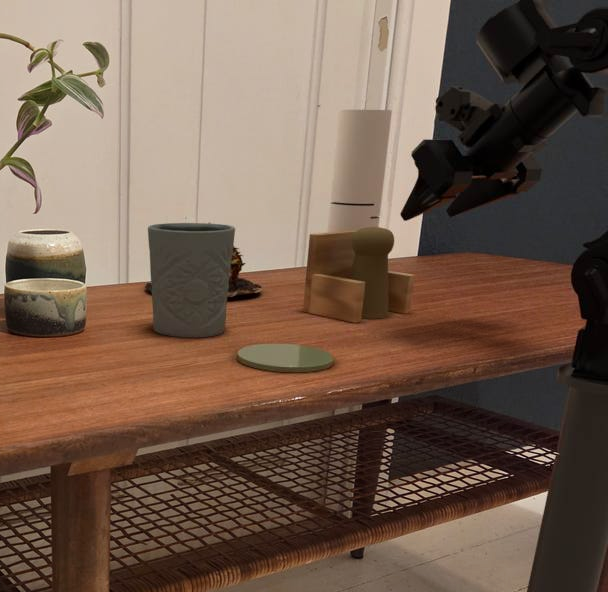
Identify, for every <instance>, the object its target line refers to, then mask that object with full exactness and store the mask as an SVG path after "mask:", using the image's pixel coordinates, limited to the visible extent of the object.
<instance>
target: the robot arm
mask: <svg viewBox="0 0 608 592" xmlns="http://www.w3.org/2000/svg"><path fill="white" fill-rule="evenodd" d="M580 17H581V18H580V19H579V20H578V21H577V22H576V23H569V24H566V25H562V26H558V25H557V24H556V23H555V21H554V20H553V19H552V17H551V16H550V14H549V13H548V11H547V10H546V8H545V5H544V3H543V1H542V0H519V1H517V2H515V3H512V4H510V5H508V6H506V7H505V8H503V9H502V10H500V11H499V12H497V13H496V14H495V15H492V16H490V17H489V18H488V19H487V20H486V21H485V22H484V23H483V25H482V26H481V28H480V29H479V31H478V33H477V35H476V44H477V45H478V47H479V48H480V50H481V51H482V53H483V54H484V56H485V57H486V58H487V60H488V61H489V63H490V64H491V66H492V67H493V69H494V70H495V71H496V73H497V74H498V76H499V77H500V79H501V80H502V81H503V83H504V84H507V85H511V84H514V83H518V85H523V86H522V87H521V88H520V89H519V90H518V91H517V92H515V94H514V95H513V96H512V97H511V98H510V99H509V100H508V101H507V102H506V103H494V102H492V101H490V100H489V99H486V98H485V97H484V96H482V95H480V94H478V93H477V92H475V91H473V90H470V89H463V87H462V86H461V85H459V86H458V85H451V87H450V88H448V89H444V91H443V93H442V94H441V95H439V96H438V97H436V98H435V107H434V109H435V113H436V114H435V118H436V119H437V120H439V121H440V122H443V121H444V122H445V123H447V124H449V125H450V126H451V127H453V128H455V129H456V130H457V131H460V132H461V133H460V134H458V135H457V139H458V140H459V142H460V143H461V145H462V146H465V147H466V149H465V154H466V155H463V153H462V152H461V151H460V150H459V148H458V146H457V145H456V144H455V141H454V140H453V139H431V138H430V139H423V140H422V141H420V142H419V144H417V146H416V147H414V149H413V150H412V151H411V155H410V157H411V158H412V159H413V161H414V162H413V163H414V166H415V167H416V169H417V178H416V181H415V183H414V186H413V188H412V189H411V192H410V194H409V195H408V197H407V199H406V201H405V204H404V205H403V208H402V209H401V211H400V213H399V214H400V217H401V218H402V220H403V221H404V222H407V221H409V220H412V219H414V218H417V217H419V216H421V215H423V214H425V213H427V212H429V211H432V210H434V209H436V208H438V207H440V206H442V205H445V204H447V203H449V202H451V203H450V204H449V206H448V207H447V208H446V211H445V212H446V214H447V216H449V218H453V217H456V216H460V215H462V214H464V213H467V212H470V211H473V210H476V209H478V208H481V207H484V206H486V205H490V204H493V203H496V202H498V201H501V200H505V199H507V198H510V197H513V196H518V195H519V194H520V193H523V192H524V193H525V192H529V191H530V190H531V189H532V188H534V186H536V185H537V184H538V183H539V182H540V181H541V176H542V173H543V172H542V171H543V168H542V167H541V164H539V162H538V160H537V159H536V158H535V157H534V155H533V153H542V152H543V151H544V150H545V149H546V148H547V147H549V143H548V142H547V139H548V138H549V137H550V136H551V135H553V134H554V133H555V132H556V131H557V130H558V129H559V128H560V127H562V125H564V124H565V123H566V122H567V121H569V120H570V118H572V117H573V116H574V115H575V114H576V113H577V112H579V114H580V116H582V117H585V118H587V117H589V118H601V117H603V116H604V114H605V110H606V109H605V108H606V95H607V93H608V88H607V87H602V86H601V87H600V86H594V85H593V84H592V83H591V81H590V79H588V77H587V76H586V74H592V75H593V74H595V75H604V76H608V6H599V7H598V6H597V7H595V8H593V9H592V8H591V9H589V10H588V11H586V12H584V13H583V14H582V15H581V16H580ZM563 57H565V58H568V60H569V63H570V64H571V65H572V67H570V66H569V65H568V64H567V63H566V61H565V60H564V58H563ZM524 84H525V85H524ZM582 246H583V248H585V250H584V251H582V252H581V253H580V254H578V255H577V257H576V258H575V259H574V261H573V262H572V268H571V272H570V284H571V286H572V290H573V291H574V293H575V294H576V295H577V300H578V307H579V314H580V319H582V320H584V321H585V325H583V326H582V327H581V328H579V329H578V330H577V334H576V339H575V344H574V348H573V354H572V359H571V363H570V364H571V366H572V368H575V369H574V370H573V371H572V375H571V376H574V377H579V378H586V379H592V380H598V381H605V382H608V229H607V230H606V231H605V232H604V233H602V235H601V236H598V238H595V239H593V240H592V241H587V242H584V243H583V244H582Z"/></svg>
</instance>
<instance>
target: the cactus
mask: <svg viewBox="0 0 608 592" xmlns="http://www.w3.org/2000/svg"><path fill="white" fill-rule="evenodd" d="M207 224H212V222H210V221H209V222H208V223H207ZM242 257H244V255H243V254H241V251H239V248H238V247H236V246H235V245H233V253H232V259H231V267H230V277H229V289H228V296H227V298H232V297H236V296H237V297H238V296H243V295H251V294H255V293H256V294H257V293H260V292H261V291H262V290H263V286H262V285H260V284H259V283H254V282H252V281H251V280H248V279H246V278H243V277H239V275H240V272H242V269H243V266H245V265H246V264H247V263H246V262H243V259H242ZM144 289H146V290H147V291H148V290H149V291H150V292H151V293H152V283H151V282H146V284H145V286H144Z"/></svg>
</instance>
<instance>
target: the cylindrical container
mask: <svg viewBox="0 0 608 592" xmlns="http://www.w3.org/2000/svg"><path fill="white" fill-rule="evenodd" d="M392 113H393V110H392V109H339V110H338V117H337V129H336V139H335V149H334V159H333V160H334V161H333V171H332V181H331V192H330V203H329V214H328V223H327V232H338V231H349V230H359V229H361V228H366V227H379V223H380V215H381V208H382V207H381V206H382V199H383V190H384V181H385V172H386V164H387V155H388V147H389V139H390V131H391V121H392Z"/></svg>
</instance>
